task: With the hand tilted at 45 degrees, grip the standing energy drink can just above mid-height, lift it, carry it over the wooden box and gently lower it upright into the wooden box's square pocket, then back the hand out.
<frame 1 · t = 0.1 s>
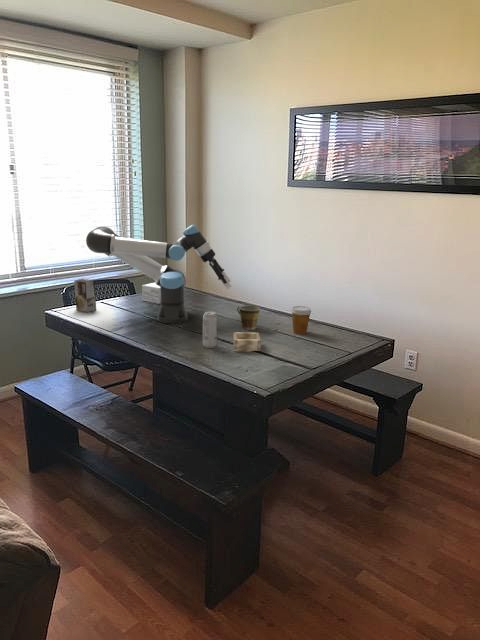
hand: (229, 285, 278), 15 cm above the table, tool tilted 35°, fingers open, 13 cm apart
coffee box: (86, 310, 282), on the table
ceramic cup: (246, 327, 259), on the table
wooden box: (246, 347, 230), on the table
disposable coffee cup: (299, 332, 252), on the table
supplement box: (160, 300, 308), on the table
energy drink can: (209, 346, 230), on the table
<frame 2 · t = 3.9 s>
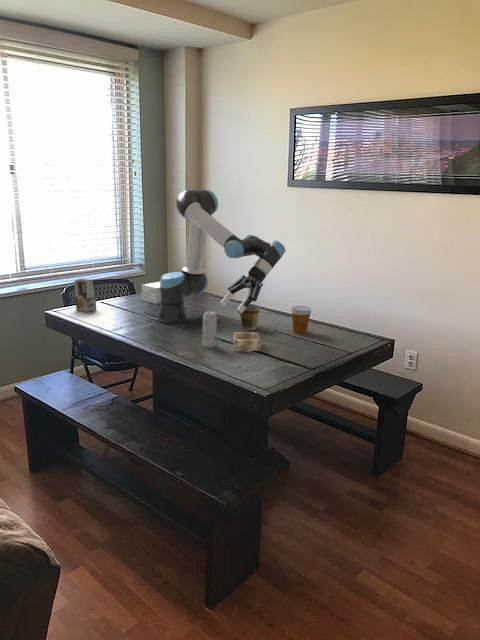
hand: (230, 307, 230), 16 cm above the table, tool tilted 45°, fingers open, 13 cm apart
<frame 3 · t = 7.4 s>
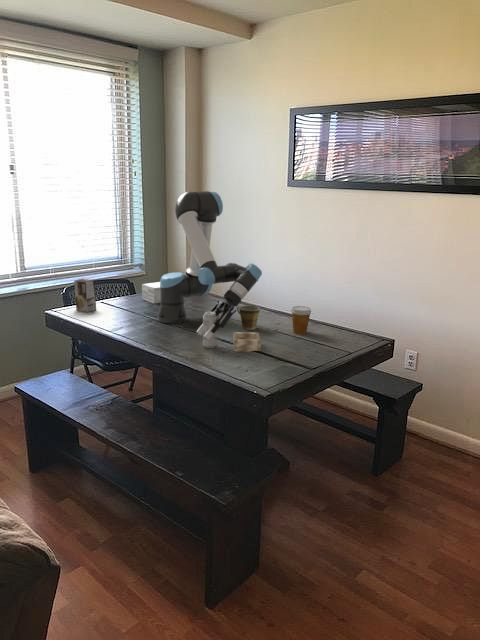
hand: (202, 335, 226), 5 cm above the table, tool tilted 45°, fingers closed on energy drink can, 6 cm apart
energy drink can: (209, 346, 230), on the table, touching gripper
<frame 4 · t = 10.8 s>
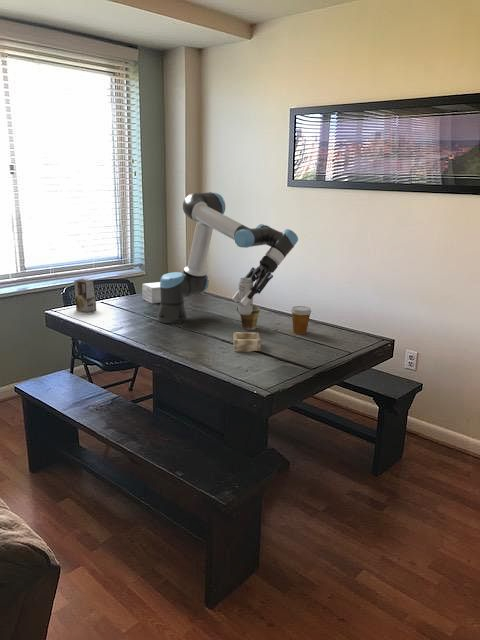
hand: (238, 302, 222), 21 cm above the table, tool tilted 45°, fingers closed on energy drink can, 6 cm apart
energy drink can: (245, 313, 225), point 15 cm above the table, touching gripper
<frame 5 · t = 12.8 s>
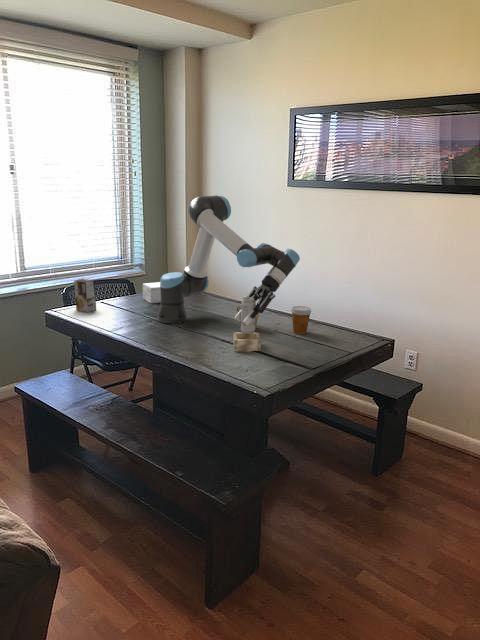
hand: (241, 321, 224), 12 cm above the table, tool tilted 45°, fingers closed on energy drink can, 6 cm apart
energy drink can: (247, 332, 228), point 7 cm above the table, touching gripper
when the fingers open (8 cm above the table, at t = 14.3 s): energy drink can drops 1 cm, resting on wooden box.
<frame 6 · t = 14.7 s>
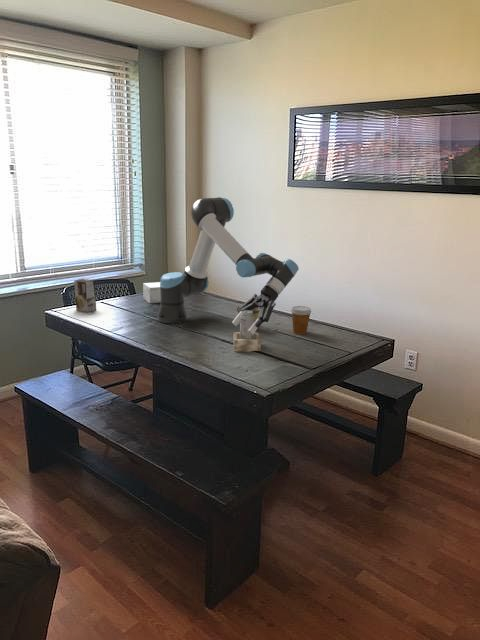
hand: (242, 328, 226), 9 cm above the table, tool tilted 45°, fingers open, 12 cm apart
energy drink can: (246, 345, 230), point 1 cm above the table, touching wooden box
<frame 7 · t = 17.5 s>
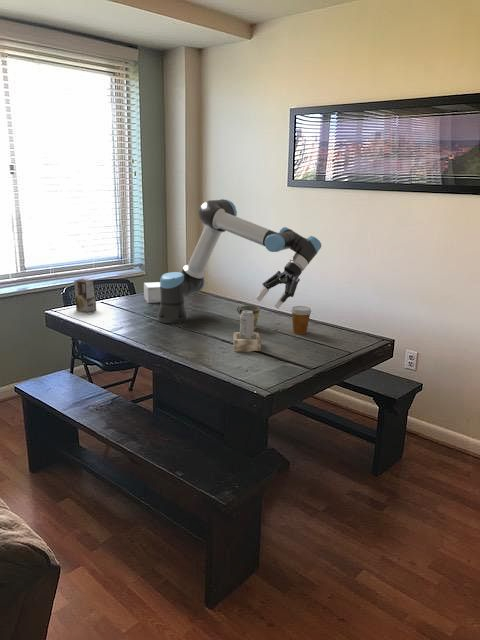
hand: (266, 303, 230), 19 cm above the table, tool tilted 45°, fingers open, 13 cm apart
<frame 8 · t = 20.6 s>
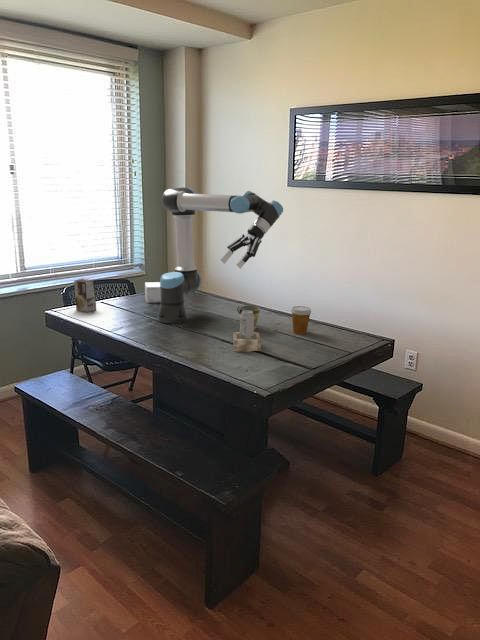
hand: (230, 264, 240), 33 cm above the table, tool tilted 45°, fingers open, 13 cm apart
at the end: energy drink can 0.1 cm off-centre on the wooden box, point 0.8 cm above the wooden box's base; energy drink can tilted 0°; the gripper is holding nothing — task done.
